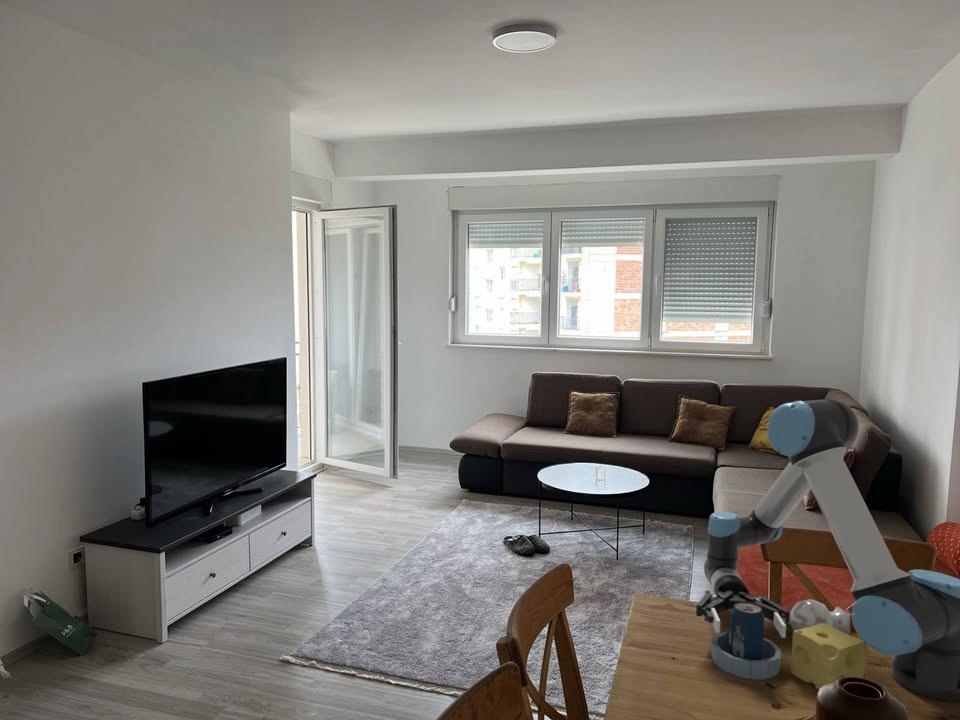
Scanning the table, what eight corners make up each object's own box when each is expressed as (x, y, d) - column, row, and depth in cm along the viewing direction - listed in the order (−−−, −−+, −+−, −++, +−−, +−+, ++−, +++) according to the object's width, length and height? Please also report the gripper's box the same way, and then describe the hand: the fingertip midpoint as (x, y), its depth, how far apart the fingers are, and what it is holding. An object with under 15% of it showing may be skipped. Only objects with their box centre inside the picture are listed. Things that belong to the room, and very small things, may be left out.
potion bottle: (785, 644, 169) (840, 646, 172) (811, 637, 161) (868, 639, 164) (777, 603, 174) (830, 606, 177) (801, 594, 166) (857, 597, 169)
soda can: (761, 654, 160) (763, 602, 158) (763, 669, 153) (766, 616, 152) (728, 649, 162) (730, 598, 160) (729, 664, 155) (731, 611, 154)
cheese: (829, 698, 144) (832, 651, 143) (787, 672, 154) (789, 628, 153) (865, 687, 148) (868, 641, 147) (821, 663, 158) (824, 619, 157)
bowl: (782, 656, 160) (783, 640, 160) (776, 686, 148) (777, 669, 148) (717, 641, 167) (718, 626, 166) (706, 669, 154) (707, 652, 154)
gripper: (782, 607, 173) (810, 650, 152) (676, 600, 176) (690, 641, 155) (783, 577, 172) (812, 616, 151) (677, 571, 175) (691, 608, 154)
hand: (750, 629), depth 153 cm, fingers open, 13 cm apart
